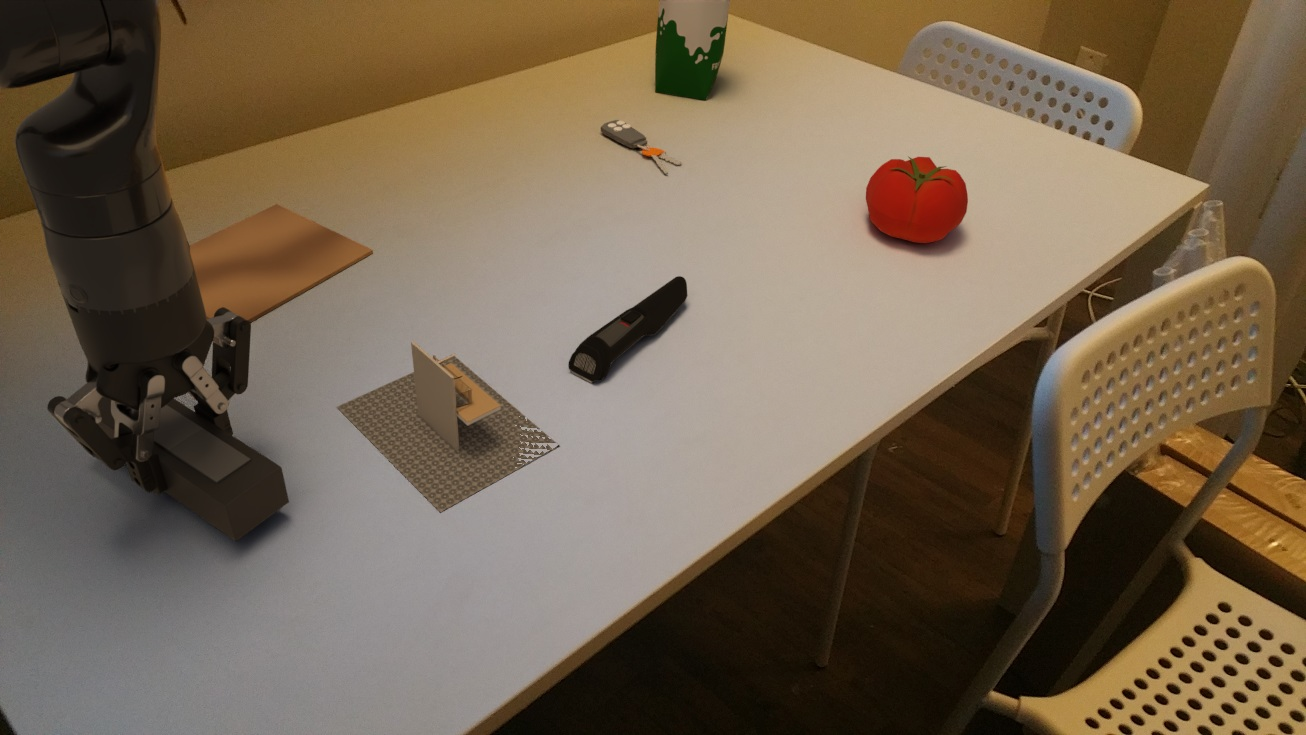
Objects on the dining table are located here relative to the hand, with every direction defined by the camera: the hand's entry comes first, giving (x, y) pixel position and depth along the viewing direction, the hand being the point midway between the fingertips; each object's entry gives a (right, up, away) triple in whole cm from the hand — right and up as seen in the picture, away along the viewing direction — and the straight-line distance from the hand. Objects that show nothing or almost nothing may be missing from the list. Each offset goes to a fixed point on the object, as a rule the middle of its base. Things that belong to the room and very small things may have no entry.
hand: (186, 465), depth 72 cm
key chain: (+33, +33, +49) cm, 67 cm away
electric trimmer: (+32, +10, +19) cm, 38 cm away
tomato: (+62, +22, +39) cm, 77 cm away
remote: (0, 0, 0) cm, 1 cm away
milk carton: (+38, +46, +64) cm, 88 cm away
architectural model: (+17, +2, +8) cm, 19 cm away
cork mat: (-5, +17, +24) cm, 30 cm away
